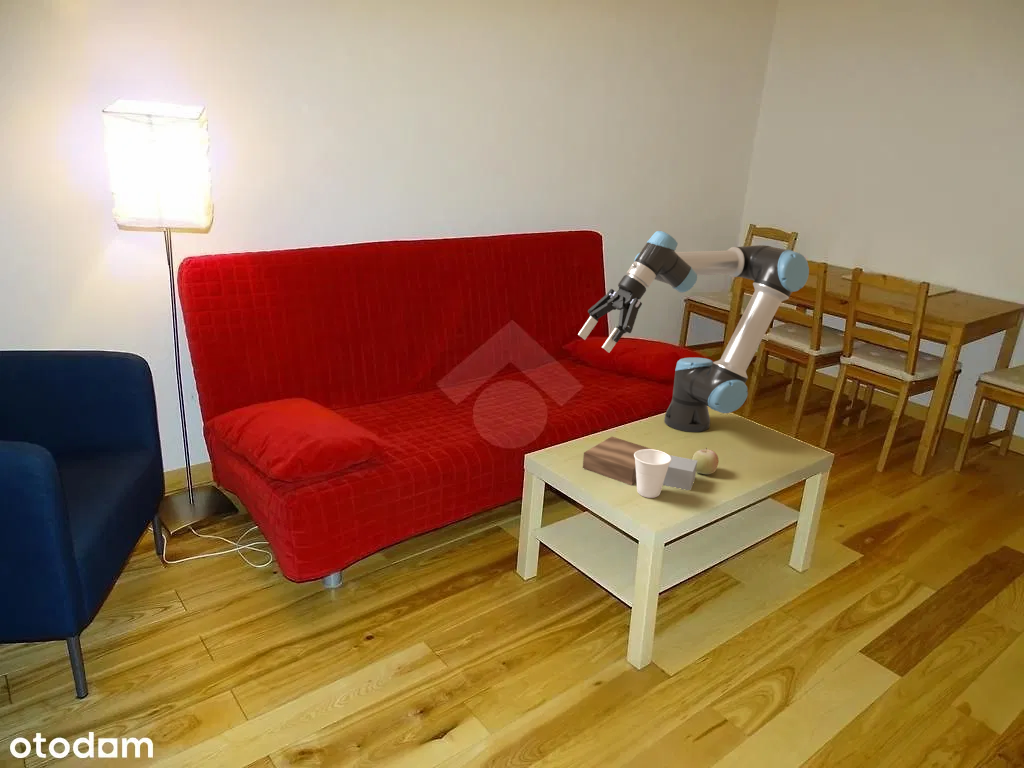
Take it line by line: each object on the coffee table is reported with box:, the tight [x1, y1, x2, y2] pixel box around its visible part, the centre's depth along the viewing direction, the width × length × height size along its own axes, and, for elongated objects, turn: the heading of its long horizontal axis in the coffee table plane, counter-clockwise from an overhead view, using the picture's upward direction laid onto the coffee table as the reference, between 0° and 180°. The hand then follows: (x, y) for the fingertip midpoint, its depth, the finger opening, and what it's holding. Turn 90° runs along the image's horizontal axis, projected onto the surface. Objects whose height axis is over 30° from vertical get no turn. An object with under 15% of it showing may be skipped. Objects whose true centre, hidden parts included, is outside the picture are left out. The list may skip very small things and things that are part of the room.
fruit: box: [691, 447, 719, 475], centre depth 207 cm, size 8×7×8 cm
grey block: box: [662, 454, 697, 491], centre depth 201 cm, size 8×8×6 cm
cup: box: [634, 448, 671, 499], centre depth 193 cm, size 10×10×11 cm
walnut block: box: [582, 436, 652, 486], centre depth 208 cm, size 16×16×5 cm
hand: (593, 343), depth 202 cm, fingers open, 13 cm apart
